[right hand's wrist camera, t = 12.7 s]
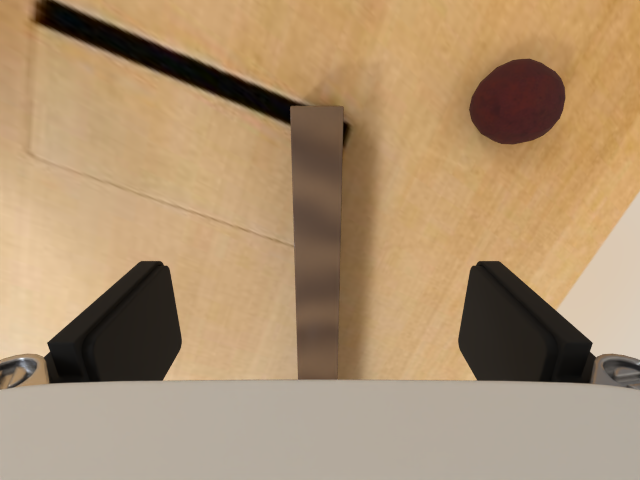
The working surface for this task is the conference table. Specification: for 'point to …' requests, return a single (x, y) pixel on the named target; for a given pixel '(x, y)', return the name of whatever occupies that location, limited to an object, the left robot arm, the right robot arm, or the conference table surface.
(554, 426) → the right robot arm
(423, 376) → the conference table surface
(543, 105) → the potato
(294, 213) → the bar
